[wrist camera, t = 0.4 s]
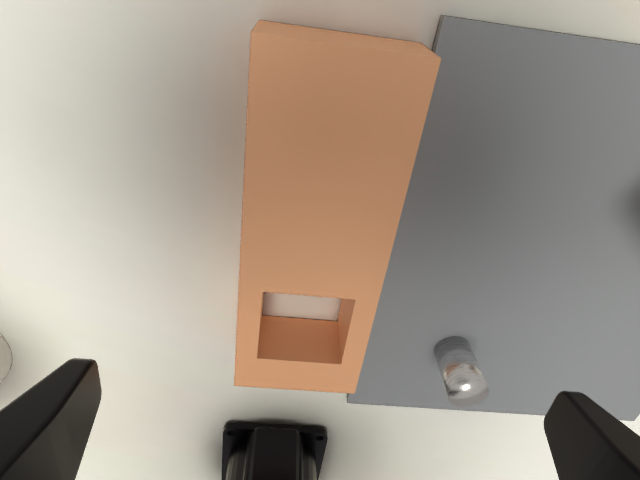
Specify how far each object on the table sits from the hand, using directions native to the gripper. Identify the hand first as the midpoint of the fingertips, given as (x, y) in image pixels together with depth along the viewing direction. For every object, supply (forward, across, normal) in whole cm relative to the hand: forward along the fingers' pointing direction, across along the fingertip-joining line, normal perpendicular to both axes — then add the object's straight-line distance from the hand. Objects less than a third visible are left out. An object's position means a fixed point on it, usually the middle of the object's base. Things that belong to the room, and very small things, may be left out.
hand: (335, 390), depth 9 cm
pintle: (+12, -9, +10) cm, 18 cm away
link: (+12, 0, +3) cm, 13 cm away
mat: (+12, -13, +4) cm, 18 cm away
